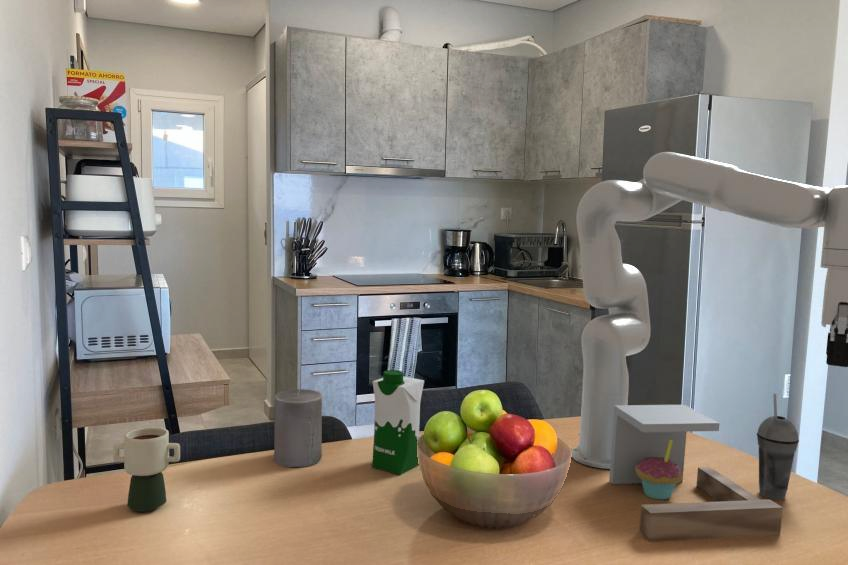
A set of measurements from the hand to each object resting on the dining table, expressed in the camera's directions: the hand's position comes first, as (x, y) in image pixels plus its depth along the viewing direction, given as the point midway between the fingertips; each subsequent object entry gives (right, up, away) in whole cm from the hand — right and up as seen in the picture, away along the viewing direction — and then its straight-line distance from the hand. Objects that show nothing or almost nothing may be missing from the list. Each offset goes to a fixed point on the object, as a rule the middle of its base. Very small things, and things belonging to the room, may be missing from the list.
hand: (836, 360), depth 117 cm
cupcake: (-26, -28, +15) cm, 40 cm away
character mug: (-118, -25, +1) cm, 120 cm away
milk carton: (-76, -25, +24) cm, 83 cm away
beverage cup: (-3, -28, +17) cm, 33 cm away
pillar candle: (-96, -24, +26) cm, 103 cm away
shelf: (-25, -27, +16) cm, 40 cm away
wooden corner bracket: (-24, -28, +8) cm, 38 cm away
